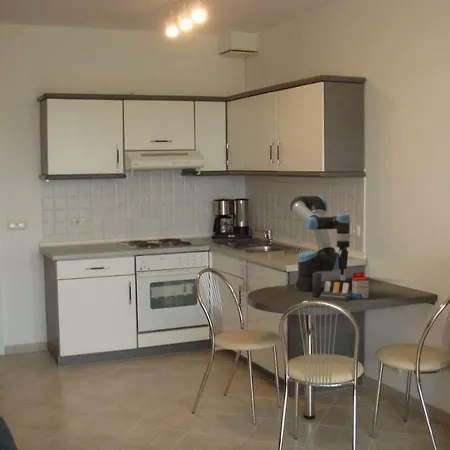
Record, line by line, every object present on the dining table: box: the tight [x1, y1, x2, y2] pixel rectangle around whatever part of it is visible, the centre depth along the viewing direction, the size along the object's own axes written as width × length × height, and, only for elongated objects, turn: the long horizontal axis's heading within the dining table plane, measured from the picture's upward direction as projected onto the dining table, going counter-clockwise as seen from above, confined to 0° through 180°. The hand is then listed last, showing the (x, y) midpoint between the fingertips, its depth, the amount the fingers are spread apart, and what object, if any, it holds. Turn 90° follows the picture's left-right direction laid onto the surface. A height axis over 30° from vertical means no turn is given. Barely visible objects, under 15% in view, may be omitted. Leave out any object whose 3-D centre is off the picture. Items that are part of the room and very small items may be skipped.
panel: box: [318, 292, 353, 302], centre depth 412 cm, size 16×11×3 cm
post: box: [312, 272, 322, 299], centre depth 417 cm, size 5×5×14 cm
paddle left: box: [323, 281, 332, 293], centre depth 416 cm, size 3×2×7 cm, turn 61°
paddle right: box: [341, 282, 350, 295], centre depth 410 cm, size 3×2×7 cm, turn 61°
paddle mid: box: [332, 281, 341, 294], centre depth 413 cm, size 3×2×7 cm, turn 61°
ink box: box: [351, 271, 370, 300], centre depth 414 cm, size 8×5×15 cm, turn 116°
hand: (342, 280), depth 422 cm, fingers closed
